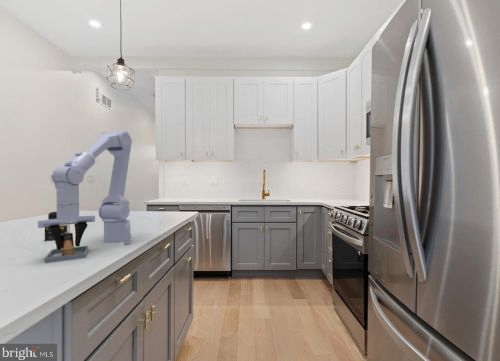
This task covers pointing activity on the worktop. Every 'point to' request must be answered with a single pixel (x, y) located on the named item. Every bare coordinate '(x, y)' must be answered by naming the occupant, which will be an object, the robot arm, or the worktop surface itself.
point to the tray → (67, 257)
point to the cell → (67, 244)
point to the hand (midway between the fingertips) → (68, 247)
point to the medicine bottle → (63, 227)
